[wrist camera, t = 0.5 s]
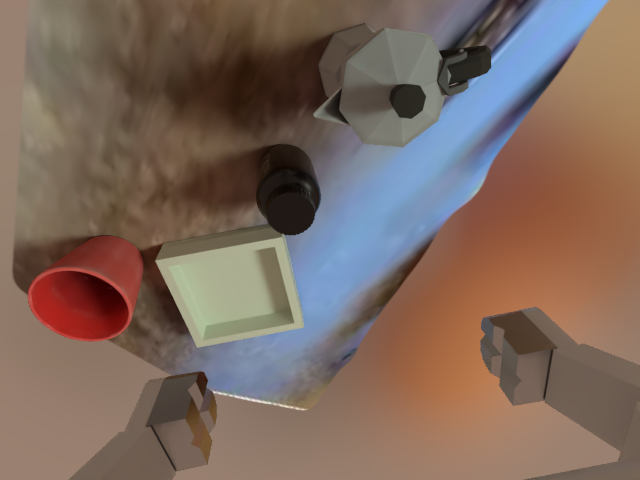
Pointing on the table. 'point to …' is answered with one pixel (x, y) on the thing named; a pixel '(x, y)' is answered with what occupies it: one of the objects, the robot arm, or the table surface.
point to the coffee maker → (392, 81)
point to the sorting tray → (232, 284)
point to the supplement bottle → (287, 189)
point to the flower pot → (89, 290)
